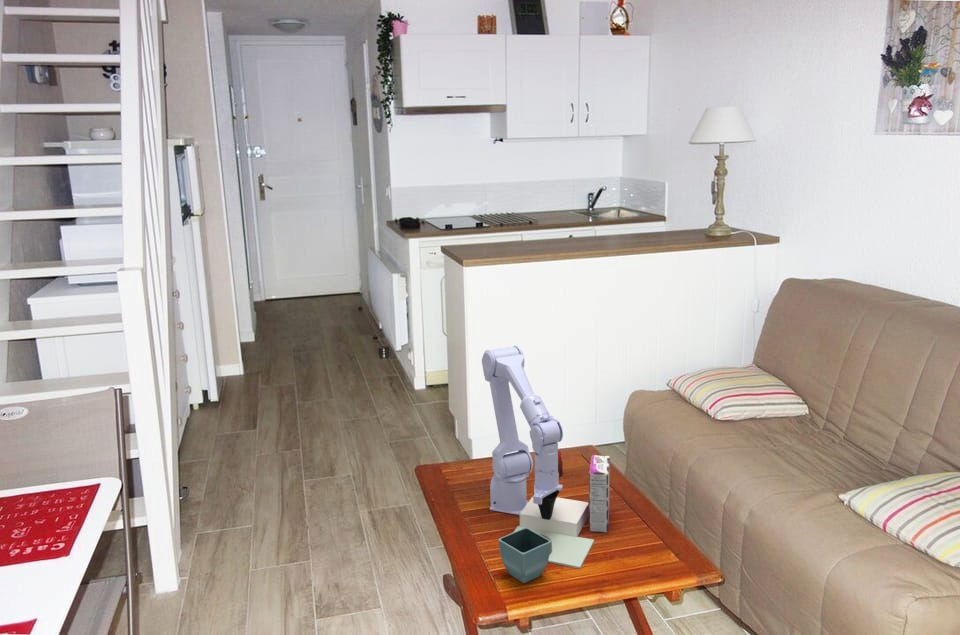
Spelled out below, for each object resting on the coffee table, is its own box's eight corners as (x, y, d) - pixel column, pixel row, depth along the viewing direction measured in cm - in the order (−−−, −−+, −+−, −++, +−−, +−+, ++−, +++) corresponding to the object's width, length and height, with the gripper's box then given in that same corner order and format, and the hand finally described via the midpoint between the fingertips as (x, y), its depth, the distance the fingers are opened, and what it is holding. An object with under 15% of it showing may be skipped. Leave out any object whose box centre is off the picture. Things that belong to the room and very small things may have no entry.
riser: (519, 527, 191) (519, 513, 190) (534, 507, 202) (534, 493, 201) (576, 538, 185) (576, 523, 184) (588, 516, 196) (589, 502, 195)
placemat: (499, 552, 179) (499, 550, 179) (518, 527, 191) (518, 525, 191) (580, 568, 172) (580, 566, 172) (594, 541, 183) (594, 539, 183)
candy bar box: (590, 511, 199) (591, 454, 195) (609, 512, 198) (610, 455, 194) (588, 532, 188) (588, 471, 184) (608, 533, 187) (609, 473, 183)
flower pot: (526, 560, 176) (526, 526, 174) (552, 576, 169) (552, 540, 167) (498, 574, 170) (497, 538, 168) (523, 591, 164) (523, 554, 162)
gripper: (553, 482, 175) (553, 534, 178) (570, 458, 188) (570, 507, 191) (524, 477, 178) (525, 529, 181) (543, 454, 191) (543, 503, 194)
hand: (546, 518), depth 186 cm, fingers closed
